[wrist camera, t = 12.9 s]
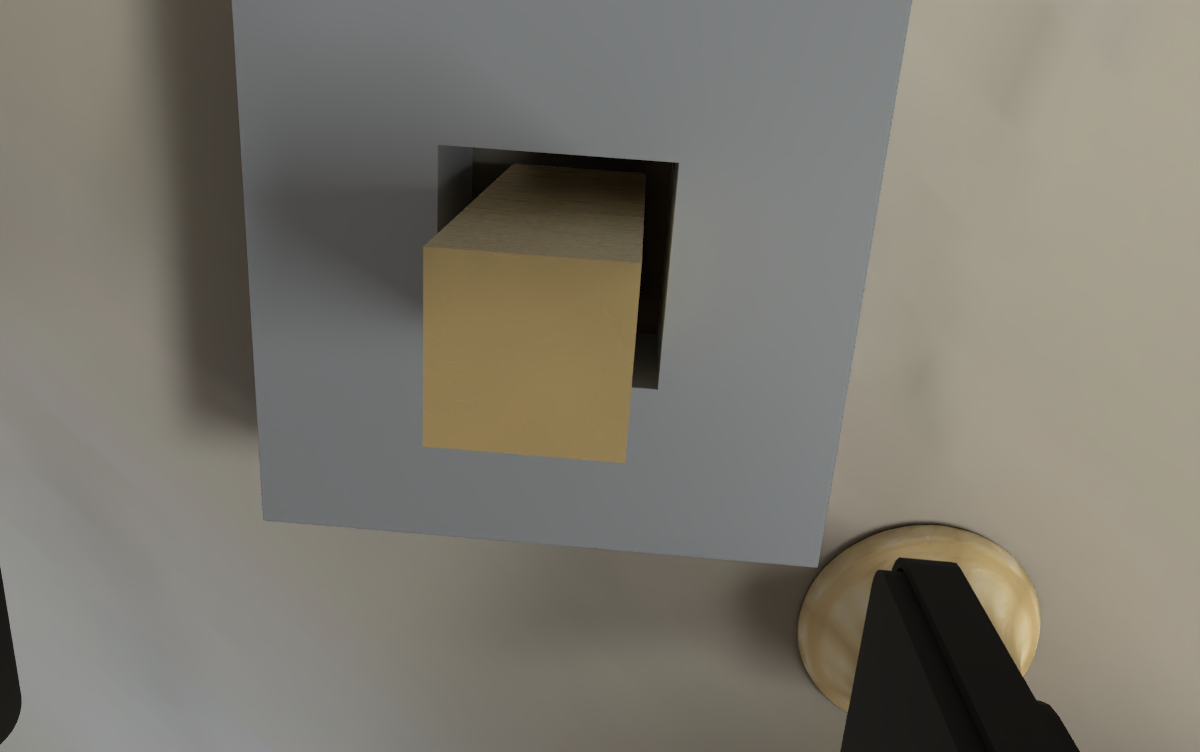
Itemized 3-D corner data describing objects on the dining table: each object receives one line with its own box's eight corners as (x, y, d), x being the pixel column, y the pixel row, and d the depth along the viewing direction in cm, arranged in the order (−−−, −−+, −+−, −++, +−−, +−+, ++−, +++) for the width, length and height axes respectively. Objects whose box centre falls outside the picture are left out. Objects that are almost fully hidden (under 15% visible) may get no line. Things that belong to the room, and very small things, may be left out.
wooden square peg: (645, 173, 28) (642, 263, 17) (635, 301, 30) (625, 463, 19) (513, 163, 29) (423, 246, 17) (509, 291, 30) (422, 446, 19)
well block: (871, -30, 26) (919, -44, 22) (793, 488, 32) (817, 567, 27) (300, -69, 27) (225, -92, 22) (320, 449, 32) (263, 520, 27)
